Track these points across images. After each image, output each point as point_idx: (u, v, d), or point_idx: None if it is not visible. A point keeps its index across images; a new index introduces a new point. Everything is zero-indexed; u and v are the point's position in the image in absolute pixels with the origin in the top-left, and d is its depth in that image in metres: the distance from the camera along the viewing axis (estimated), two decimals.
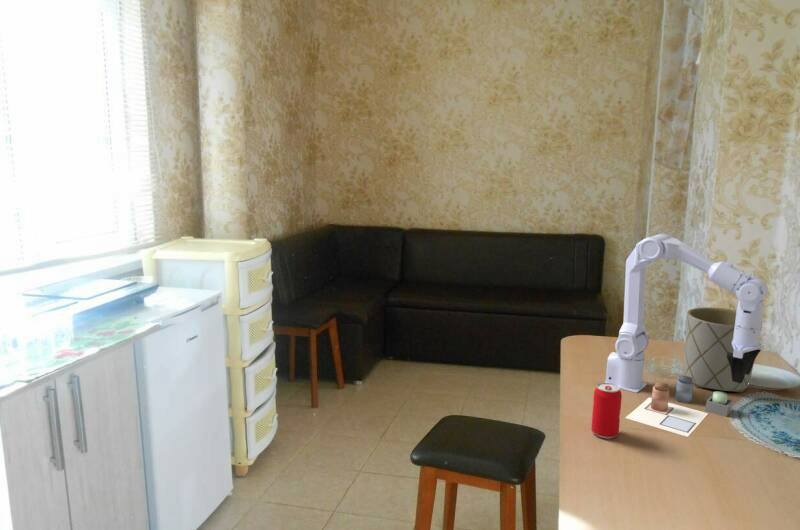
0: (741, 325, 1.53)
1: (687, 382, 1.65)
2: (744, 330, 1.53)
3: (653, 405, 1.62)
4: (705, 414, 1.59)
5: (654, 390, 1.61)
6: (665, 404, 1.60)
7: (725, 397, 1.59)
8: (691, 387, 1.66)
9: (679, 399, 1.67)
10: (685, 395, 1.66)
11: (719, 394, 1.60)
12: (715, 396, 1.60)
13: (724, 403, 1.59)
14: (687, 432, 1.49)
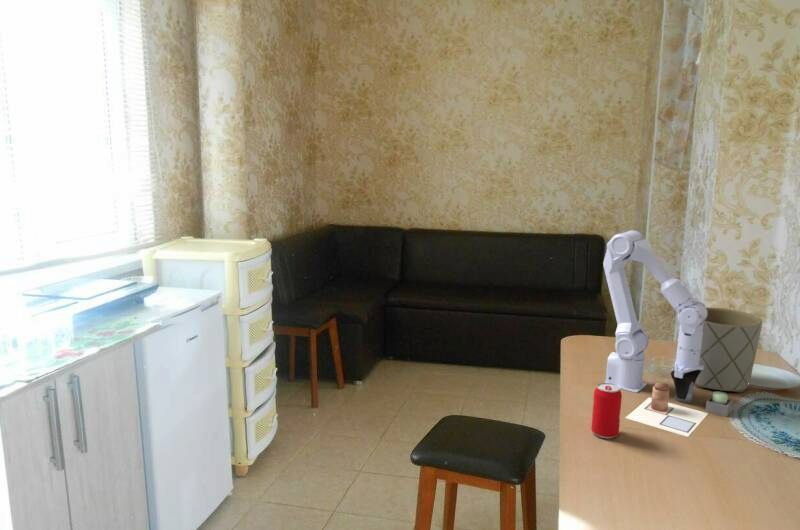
0: (682, 347, 1.63)
1: None
2: (685, 351, 1.63)
3: (653, 405, 1.62)
4: (705, 414, 1.59)
5: (654, 390, 1.61)
6: (665, 404, 1.60)
7: (725, 397, 1.59)
8: (691, 387, 1.66)
9: (679, 399, 1.67)
10: None
11: (719, 394, 1.60)
12: (715, 396, 1.60)
13: (724, 403, 1.59)
14: (687, 432, 1.49)
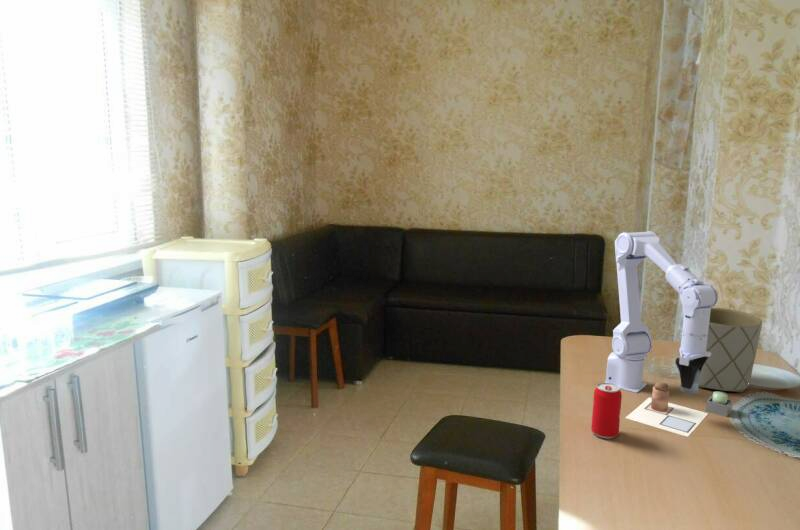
0: (683, 330, 1.53)
1: None
2: (691, 337, 1.51)
3: (653, 405, 1.62)
4: (705, 414, 1.59)
5: (654, 390, 1.61)
6: (665, 404, 1.60)
7: (725, 397, 1.59)
8: (697, 376, 1.53)
9: (684, 389, 1.55)
10: None
11: (719, 394, 1.60)
12: (715, 396, 1.60)
13: (724, 403, 1.59)
14: (687, 432, 1.49)
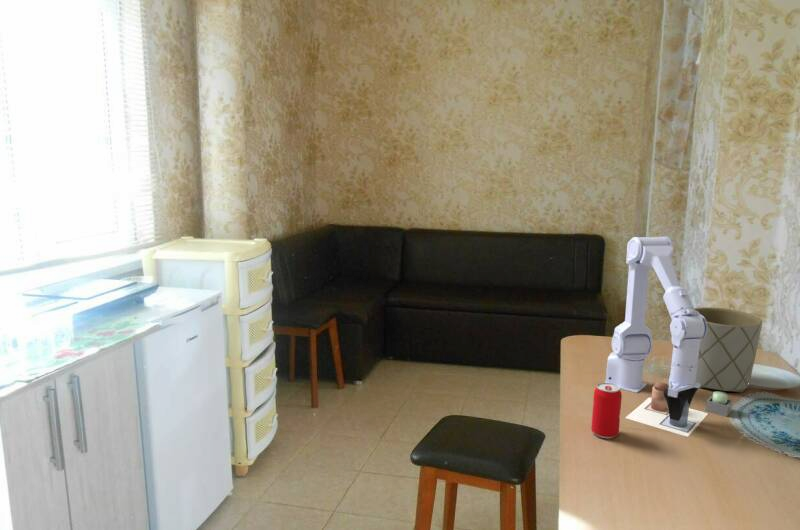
0: (672, 360, 1.51)
1: None
2: (680, 368, 1.49)
3: (653, 405, 1.62)
4: (705, 414, 1.59)
5: (654, 390, 1.61)
6: (665, 404, 1.60)
7: (725, 397, 1.59)
8: (686, 409, 1.51)
9: (673, 422, 1.53)
10: None
11: (719, 394, 1.60)
12: (715, 396, 1.60)
13: (724, 403, 1.59)
14: (687, 432, 1.49)
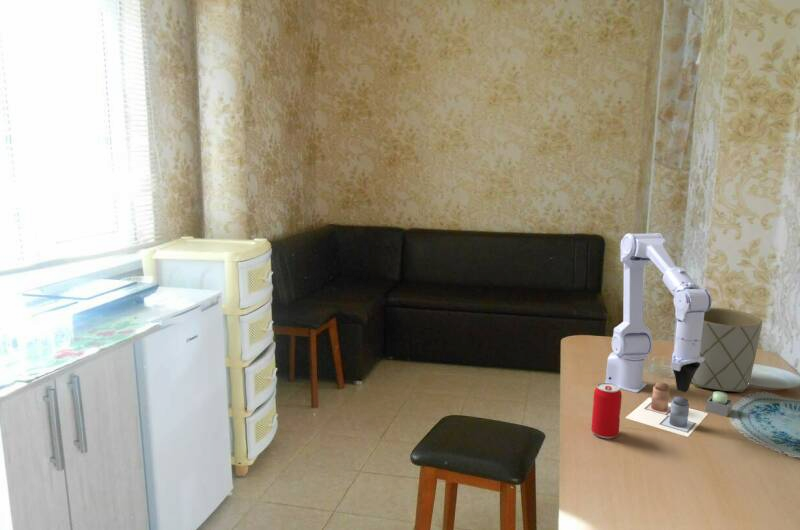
0: (676, 334, 1.50)
1: (682, 404, 1.51)
2: (683, 341, 1.48)
3: (653, 405, 1.62)
4: (705, 414, 1.59)
5: (654, 390, 1.61)
6: (665, 404, 1.60)
7: (725, 397, 1.59)
8: (686, 409, 1.51)
9: (673, 422, 1.53)
10: (679, 418, 1.52)
11: (719, 394, 1.60)
12: (715, 396, 1.60)
13: (724, 403, 1.59)
14: (687, 432, 1.49)
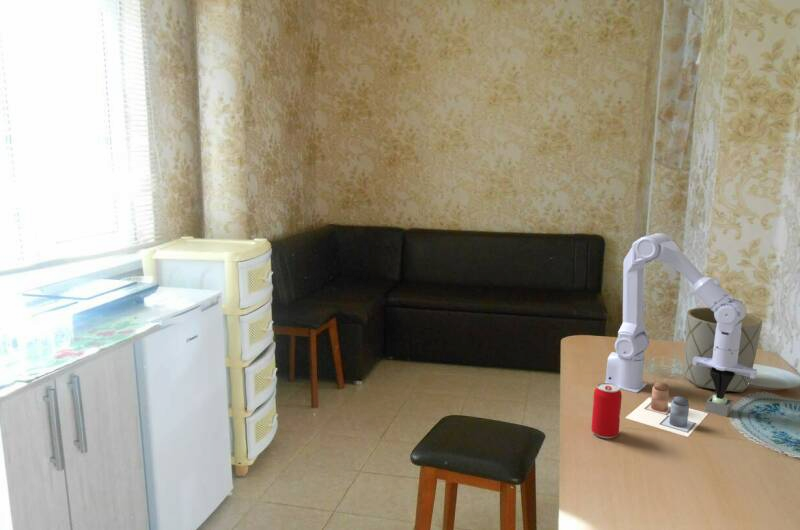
0: (719, 346, 1.57)
1: (682, 404, 1.51)
2: None
3: (653, 405, 1.62)
4: (705, 414, 1.59)
5: (653, 390, 1.61)
6: (664, 404, 1.60)
7: (725, 400, 1.59)
8: (686, 409, 1.51)
9: (673, 422, 1.53)
10: (679, 418, 1.52)
11: None
12: (715, 399, 1.60)
13: None
14: (687, 432, 1.49)
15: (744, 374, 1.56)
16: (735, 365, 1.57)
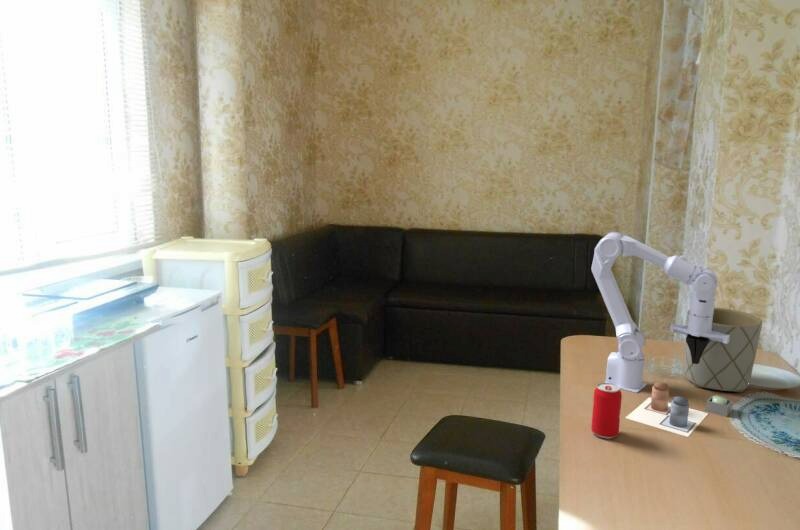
0: (697, 314, 1.64)
1: (682, 404, 1.51)
2: None
3: (652, 405, 1.62)
4: (705, 414, 1.59)
5: (653, 390, 1.61)
6: (664, 404, 1.60)
7: (724, 401, 1.59)
8: (686, 409, 1.51)
9: (673, 422, 1.53)
10: (679, 418, 1.52)
11: (718, 398, 1.60)
12: (715, 400, 1.60)
13: None
14: (687, 432, 1.49)
15: (718, 340, 1.64)
16: (709, 331, 1.64)
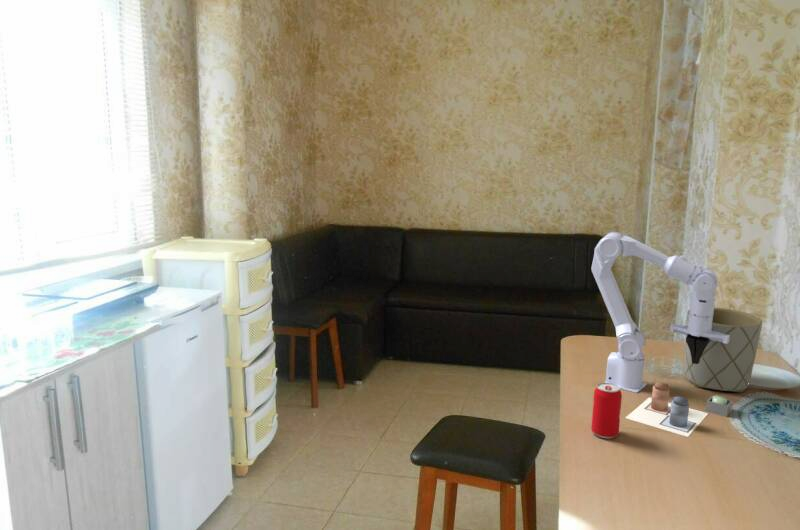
0: (697, 314, 1.64)
1: (682, 404, 1.51)
2: None
3: (652, 404, 1.62)
4: (705, 414, 1.59)
5: (653, 389, 1.61)
6: (664, 404, 1.60)
7: (724, 401, 1.59)
8: (686, 409, 1.51)
9: (673, 422, 1.53)
10: (679, 418, 1.52)
11: (718, 398, 1.60)
12: (715, 400, 1.60)
13: None
14: (687, 432, 1.49)
15: (718, 340, 1.64)
16: (709, 331, 1.64)
